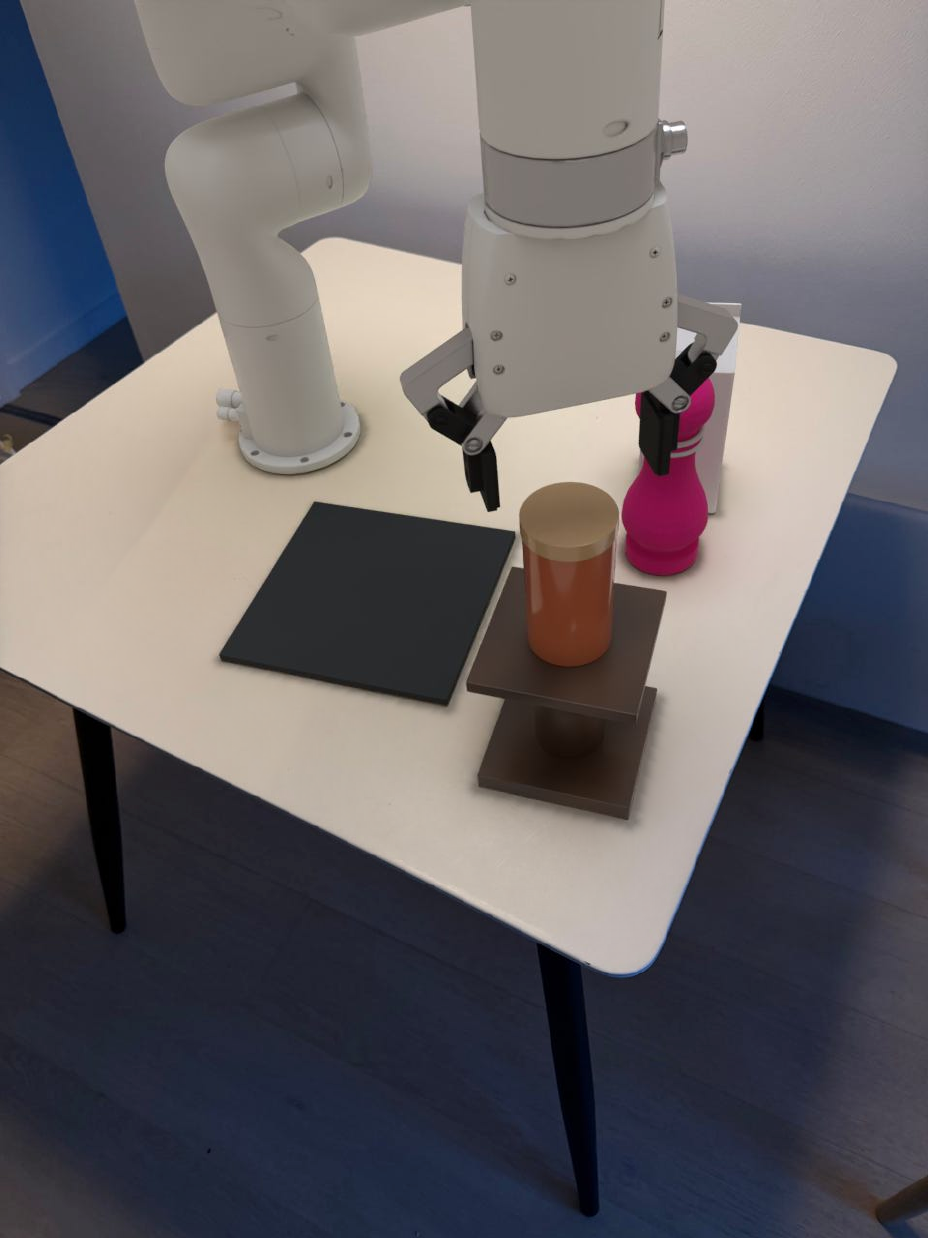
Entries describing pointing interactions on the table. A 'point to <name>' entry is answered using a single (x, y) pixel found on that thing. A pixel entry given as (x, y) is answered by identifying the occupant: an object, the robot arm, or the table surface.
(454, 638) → the mat
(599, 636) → the spice jar
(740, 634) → the table surface
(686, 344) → the milk carton
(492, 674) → the stand
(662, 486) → the pepper mill
